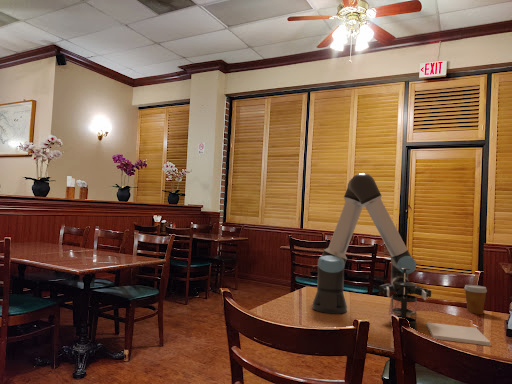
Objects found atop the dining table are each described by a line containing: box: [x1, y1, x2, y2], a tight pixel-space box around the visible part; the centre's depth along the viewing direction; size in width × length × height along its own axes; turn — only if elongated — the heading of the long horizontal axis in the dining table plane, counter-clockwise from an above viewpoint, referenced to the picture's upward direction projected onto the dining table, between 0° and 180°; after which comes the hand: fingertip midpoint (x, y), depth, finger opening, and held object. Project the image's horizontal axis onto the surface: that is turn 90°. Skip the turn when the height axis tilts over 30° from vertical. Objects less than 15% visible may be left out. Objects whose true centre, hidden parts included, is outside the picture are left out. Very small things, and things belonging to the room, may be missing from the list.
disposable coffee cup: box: [463, 284, 488, 315], centre depth 181 cm, size 10×10×12 cm
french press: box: [391, 268, 418, 331], centre depth 151 cm, size 12×9×23 cm
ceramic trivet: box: [425, 321, 491, 347], centre depth 143 cm, size 18×18×1 cm
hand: (406, 294), depth 151 cm, fingers open, 13 cm apart
